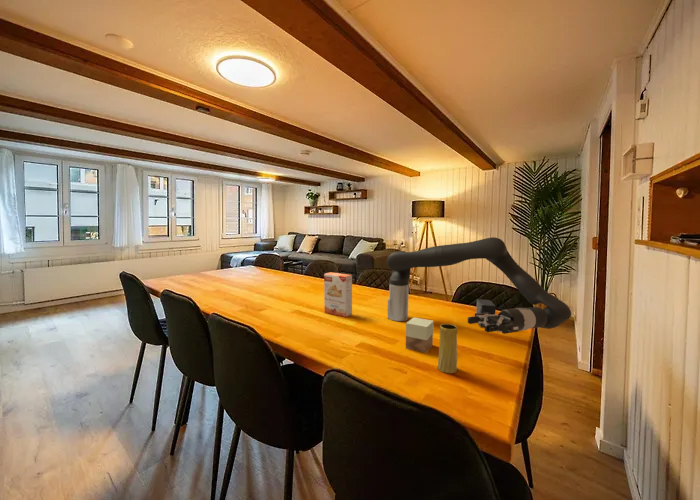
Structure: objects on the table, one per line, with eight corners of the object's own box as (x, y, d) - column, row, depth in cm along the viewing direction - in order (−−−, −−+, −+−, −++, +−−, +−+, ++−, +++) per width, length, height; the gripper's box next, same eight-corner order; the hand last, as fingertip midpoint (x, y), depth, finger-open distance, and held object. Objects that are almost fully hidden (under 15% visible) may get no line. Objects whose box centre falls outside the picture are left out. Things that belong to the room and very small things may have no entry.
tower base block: (405, 348, 115) (405, 335, 115) (412, 341, 122) (412, 329, 122) (426, 353, 111) (426, 340, 111) (432, 345, 118) (432, 333, 118)
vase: (434, 365, 102) (435, 323, 101) (452, 364, 102) (453, 322, 101) (441, 374, 96) (442, 330, 94) (460, 373, 96) (462, 329, 95)
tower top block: (405, 336, 115) (406, 323, 114) (413, 329, 122) (413, 317, 121) (426, 340, 111) (427, 327, 110) (433, 333, 117) (433, 320, 117)
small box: (495, 328, 136) (496, 305, 135) (480, 327, 138) (480, 304, 137) (489, 320, 147) (490, 299, 146) (475, 320, 148) (476, 298, 147)
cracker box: (323, 313, 160) (323, 273, 158) (331, 310, 165) (330, 271, 163) (345, 317, 152) (345, 276, 150) (352, 314, 157) (352, 274, 155)
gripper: (501, 303, 111) (463, 307, 107) (534, 314, 98) (492, 319, 93) (501, 323, 112) (462, 328, 108) (534, 337, 98) (491, 343, 94)
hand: (476, 324), depth 100 cm, fingers open, 8 cm apart
